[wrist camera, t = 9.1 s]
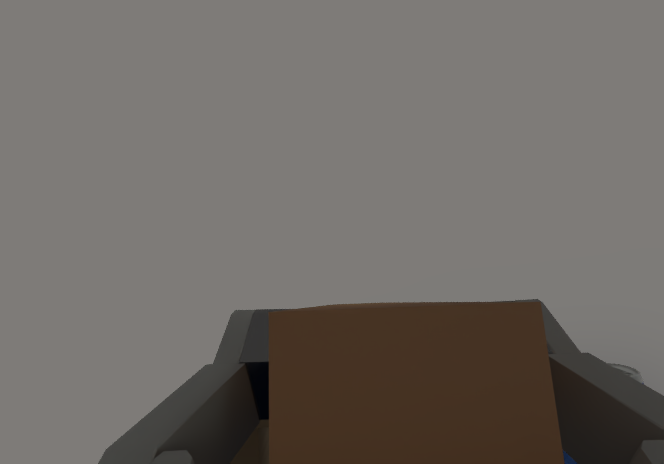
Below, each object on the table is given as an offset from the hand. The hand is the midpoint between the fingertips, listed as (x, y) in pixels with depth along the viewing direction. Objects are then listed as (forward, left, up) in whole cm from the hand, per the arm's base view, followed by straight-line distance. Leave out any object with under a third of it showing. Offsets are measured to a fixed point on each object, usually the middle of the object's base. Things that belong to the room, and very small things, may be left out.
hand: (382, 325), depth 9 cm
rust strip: (-6, -6, -4) cm, 9 cm away
